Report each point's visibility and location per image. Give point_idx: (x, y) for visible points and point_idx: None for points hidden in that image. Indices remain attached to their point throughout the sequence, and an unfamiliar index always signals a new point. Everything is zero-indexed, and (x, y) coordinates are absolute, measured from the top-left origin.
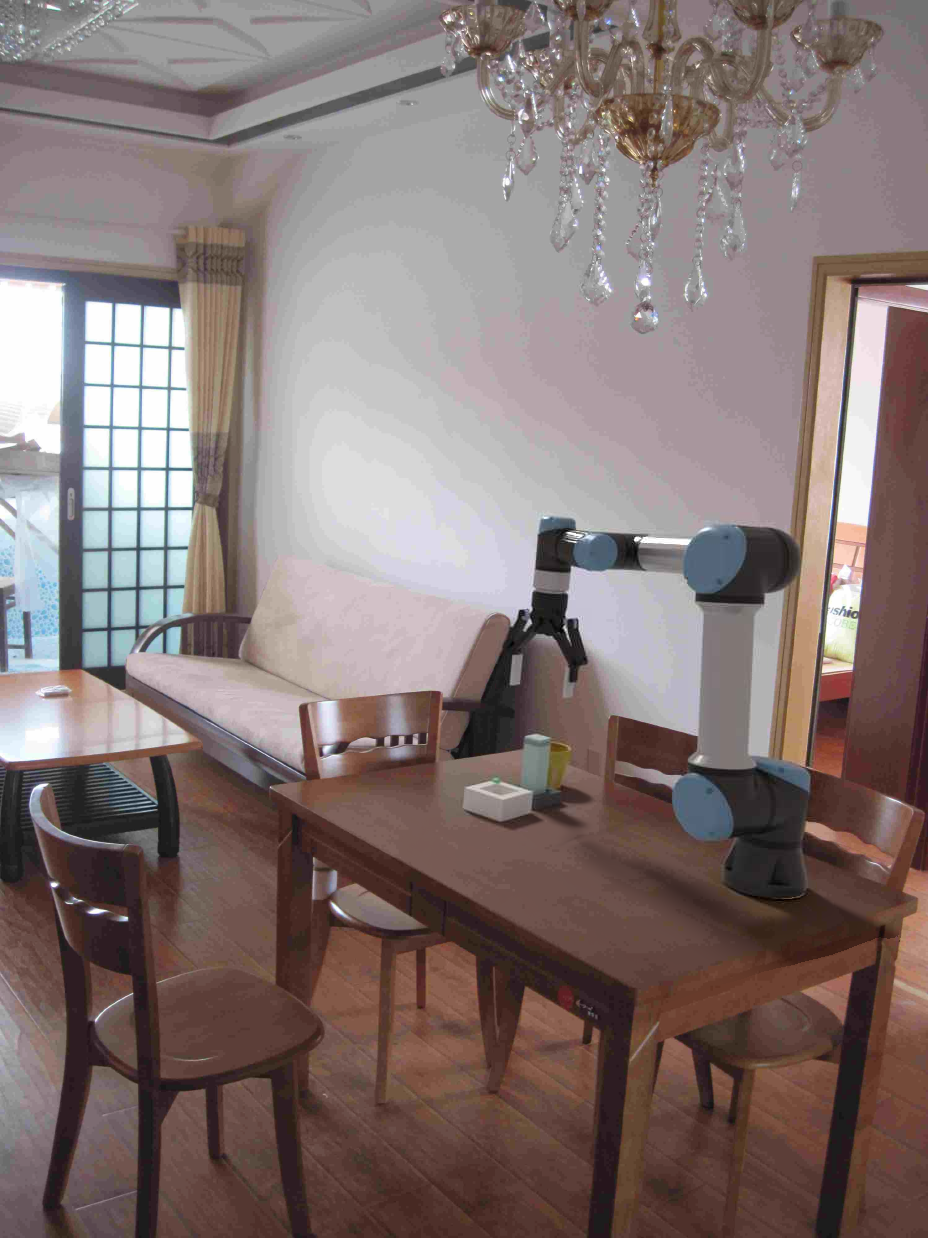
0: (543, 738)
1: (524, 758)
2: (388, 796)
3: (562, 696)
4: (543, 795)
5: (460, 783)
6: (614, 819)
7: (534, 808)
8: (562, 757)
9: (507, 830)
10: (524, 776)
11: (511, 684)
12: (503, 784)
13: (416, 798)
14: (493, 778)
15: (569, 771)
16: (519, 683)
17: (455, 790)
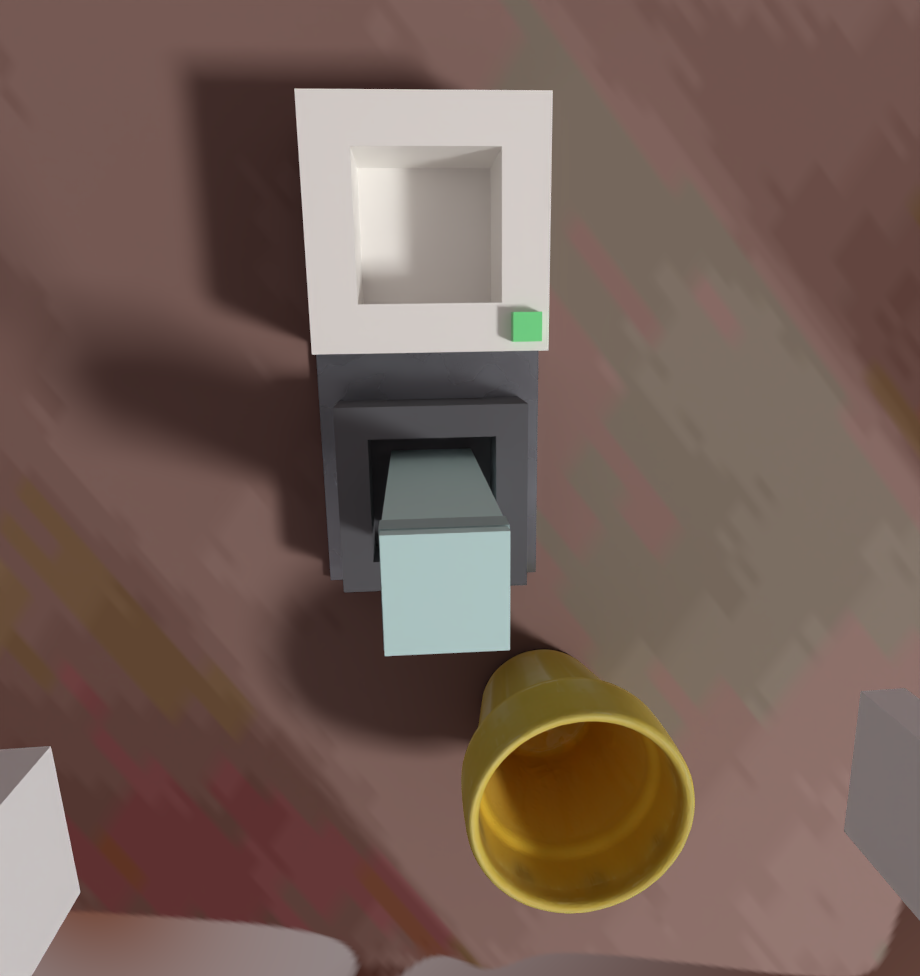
0: (402, 599)
1: (480, 493)
2: (882, 25)
3: (42, 756)
4: (347, 469)
5: (789, 461)
6: (126, 621)
7: (347, 402)
8: (467, 780)
9: (258, 106)
10: (460, 471)
11: (884, 696)
12: (474, 323)
13: (784, 119)
14: (541, 321)
15: (616, 935)
16: (851, 828)
17: (745, 366)
